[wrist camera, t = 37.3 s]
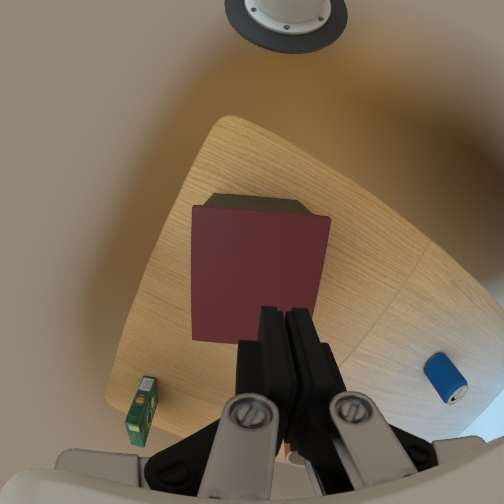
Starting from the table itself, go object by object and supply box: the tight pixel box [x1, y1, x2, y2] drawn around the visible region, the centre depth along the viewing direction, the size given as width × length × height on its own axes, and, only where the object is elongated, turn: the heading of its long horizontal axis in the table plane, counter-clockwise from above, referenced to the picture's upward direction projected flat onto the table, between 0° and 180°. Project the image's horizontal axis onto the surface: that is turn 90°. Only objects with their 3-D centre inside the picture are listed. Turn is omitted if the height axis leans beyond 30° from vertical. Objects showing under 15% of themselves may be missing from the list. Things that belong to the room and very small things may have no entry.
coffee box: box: [125, 376, 158, 447], centre depth 44 cm, size 8×3×13 cm, turn 171°
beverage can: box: [424, 353, 468, 405], centre depth 44 cm, size 6×6×12 cm
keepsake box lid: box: [191, 205, 331, 344], centre depth 25 cm, size 14×12×1 cm
